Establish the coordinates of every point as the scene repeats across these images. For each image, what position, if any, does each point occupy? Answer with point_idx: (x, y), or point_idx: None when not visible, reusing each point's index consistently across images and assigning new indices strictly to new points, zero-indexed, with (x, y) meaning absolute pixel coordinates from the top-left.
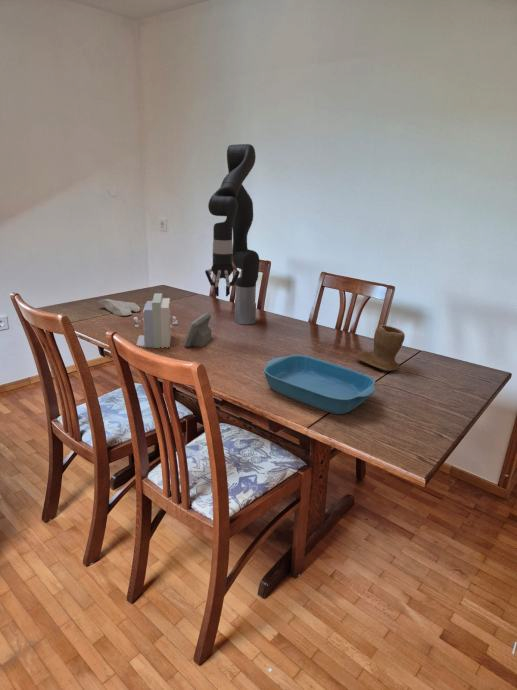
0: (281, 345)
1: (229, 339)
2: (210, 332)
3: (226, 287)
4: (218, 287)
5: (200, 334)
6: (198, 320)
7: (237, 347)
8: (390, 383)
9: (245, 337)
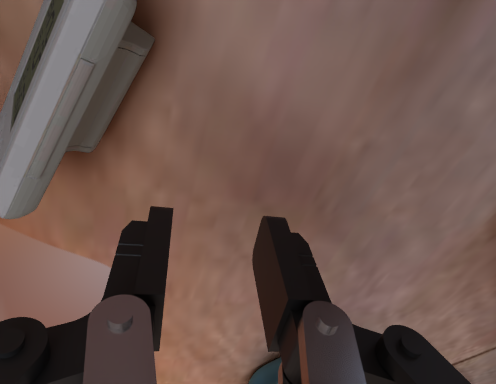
0: (429, 168)
1: (252, 54)
2: (142, 62)
3: (270, 349)
4: (156, 350)
5: (75, 150)
6: (32, 178)
7: (257, 161)
8: (477, 367)
9: (342, 41)
